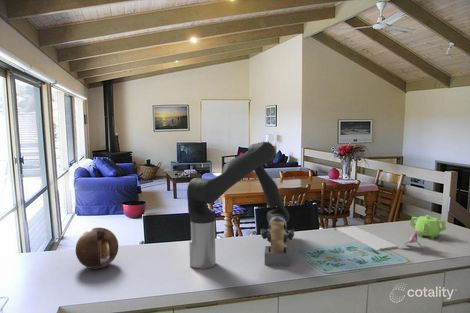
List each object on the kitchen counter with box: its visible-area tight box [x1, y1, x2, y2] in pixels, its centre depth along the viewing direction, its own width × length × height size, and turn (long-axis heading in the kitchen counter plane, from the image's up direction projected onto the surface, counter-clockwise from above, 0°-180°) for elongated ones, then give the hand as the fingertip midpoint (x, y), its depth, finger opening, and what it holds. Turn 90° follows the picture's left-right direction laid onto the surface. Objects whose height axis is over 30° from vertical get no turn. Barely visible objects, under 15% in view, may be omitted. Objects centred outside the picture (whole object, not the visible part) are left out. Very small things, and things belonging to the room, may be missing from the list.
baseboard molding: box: [334, 223, 399, 252], centre depth 166 cm, size 31×3×12 cm
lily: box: [400, 229, 424, 251], centre depth 152 cm, size 12×12×10 cm
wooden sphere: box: [75, 227, 119, 270], centre depth 134 cm, size 15×15×15 cm
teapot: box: [409, 214, 447, 240], centre depth 169 cm, size 12×12×10 cm
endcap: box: [264, 245, 291, 267], centre depth 139 cm, size 10×8×5 cm
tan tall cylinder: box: [270, 221, 285, 253], centre depth 139 cm, size 5×4×13 cm
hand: (277, 240), depth 136 cm, fingers closed on tan tall cylinder, 5 cm apart
